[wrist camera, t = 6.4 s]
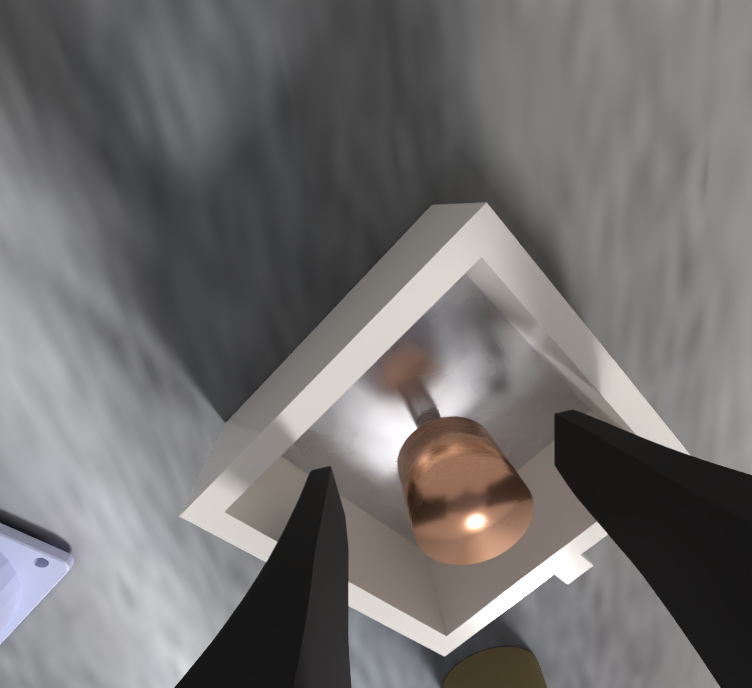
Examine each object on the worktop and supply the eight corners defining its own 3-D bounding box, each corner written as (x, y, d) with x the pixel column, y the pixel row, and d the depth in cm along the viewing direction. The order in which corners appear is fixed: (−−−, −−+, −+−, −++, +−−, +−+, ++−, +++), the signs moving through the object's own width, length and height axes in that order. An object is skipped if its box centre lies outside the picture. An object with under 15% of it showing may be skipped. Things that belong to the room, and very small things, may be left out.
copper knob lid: (253, 428, 13) (211, 548, 9) (433, 242, 12) (503, 264, 7) (420, 539, 16) (456, 674, 12) (581, 404, 15) (700, 495, 10)
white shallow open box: (224, 423, 14) (179, 516, 9) (431, 204, 12) (486, 202, 8) (444, 567, 18) (478, 674, 14) (622, 422, 16) (724, 497, 12)
